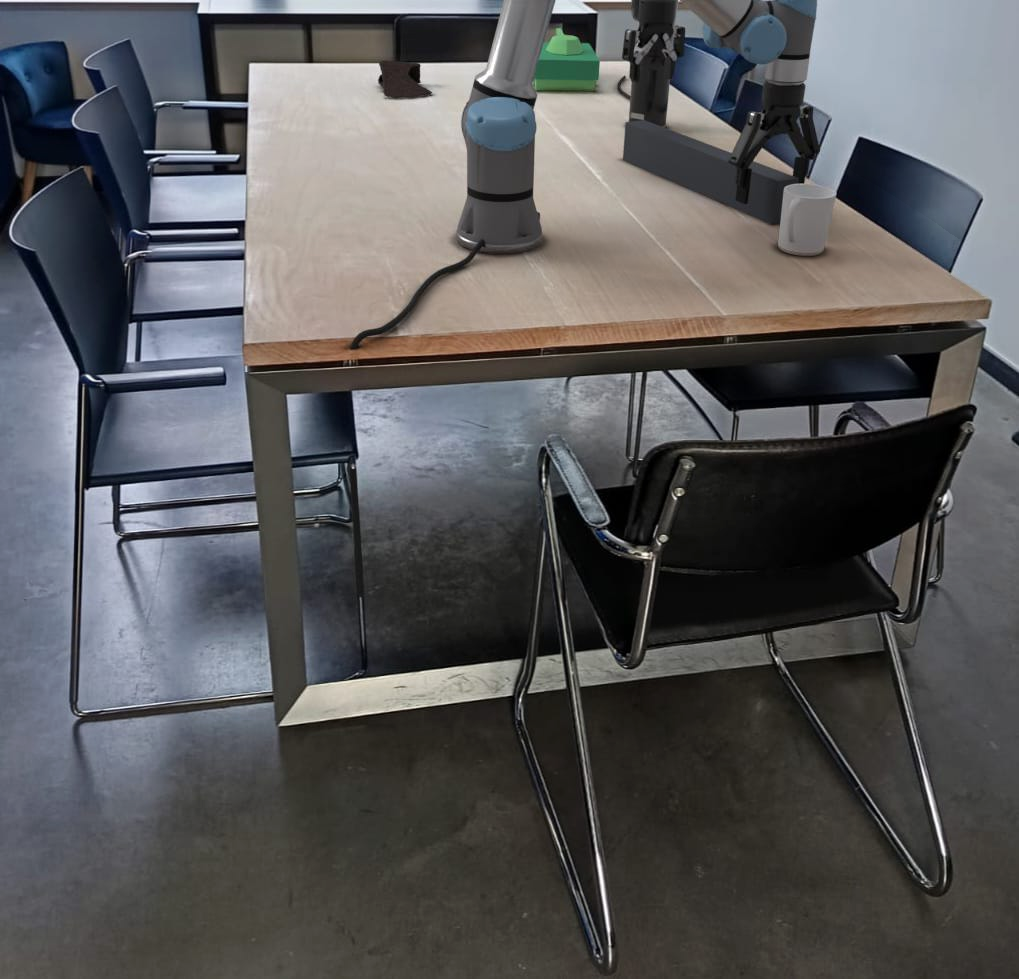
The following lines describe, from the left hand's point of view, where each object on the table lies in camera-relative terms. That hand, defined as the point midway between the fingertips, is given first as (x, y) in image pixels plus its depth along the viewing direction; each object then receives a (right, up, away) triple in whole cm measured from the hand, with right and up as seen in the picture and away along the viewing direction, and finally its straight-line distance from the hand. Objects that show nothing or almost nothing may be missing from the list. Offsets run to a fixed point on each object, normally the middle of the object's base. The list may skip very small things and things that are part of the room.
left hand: (769, 197), depth 210 cm
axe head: (-79, +53, +91) cm, 132 cm away
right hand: (-20, +31, +23) cm, 43 cm away
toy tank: (-35, +63, +107) cm, 129 cm away
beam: (-10, +6, +17) cm, 21 cm away
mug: (+1, -14, -15) cm, 21 cm away
